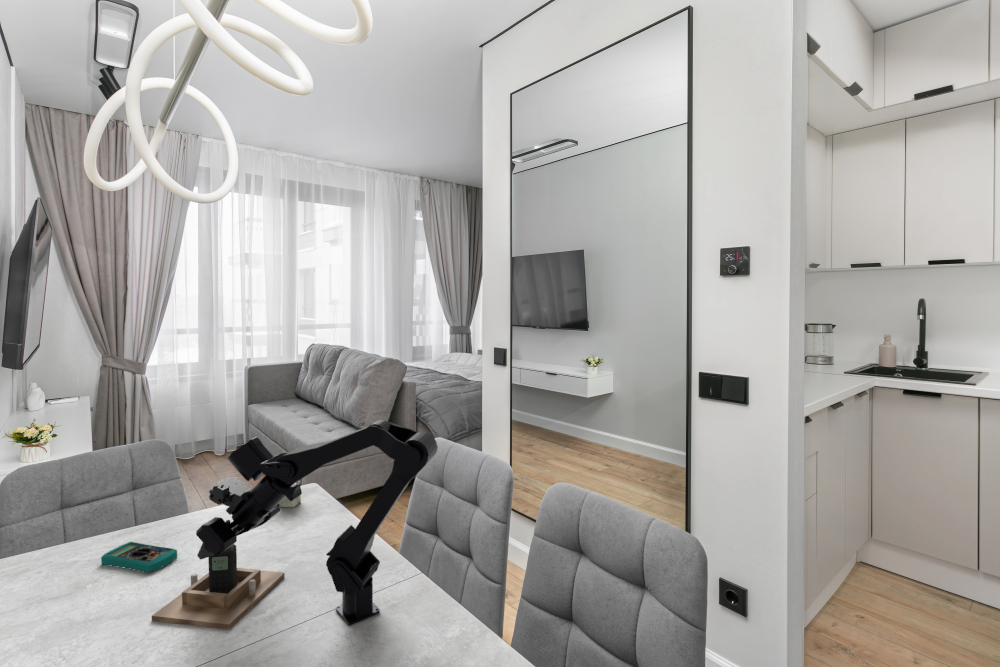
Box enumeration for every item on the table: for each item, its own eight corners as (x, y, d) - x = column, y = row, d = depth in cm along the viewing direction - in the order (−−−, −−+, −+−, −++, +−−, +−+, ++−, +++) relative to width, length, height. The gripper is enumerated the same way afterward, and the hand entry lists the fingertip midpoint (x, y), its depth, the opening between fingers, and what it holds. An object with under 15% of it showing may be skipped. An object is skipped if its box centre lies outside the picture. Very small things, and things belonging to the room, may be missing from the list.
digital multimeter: (151, 575, 110) (151, 563, 110) (99, 566, 114) (99, 554, 114) (180, 559, 117) (179, 547, 117) (130, 551, 121) (130, 539, 121)
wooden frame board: (284, 577, 109) (284, 559, 109) (228, 629, 92) (228, 608, 91) (218, 570, 112) (218, 553, 111) (151, 620, 94) (151, 600, 94)
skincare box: (301, 502, 150) (300, 469, 150) (292, 508, 146) (292, 474, 146) (285, 500, 151) (285, 468, 151) (276, 506, 147) (276, 473, 147)
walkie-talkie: (208, 597, 100) (206, 525, 98) (214, 587, 103) (212, 517, 102) (234, 595, 100) (232, 523, 99) (239, 585, 104) (238, 516, 103)
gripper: (266, 453, 109) (221, 499, 111) (204, 483, 90) (152, 537, 92) (300, 490, 108) (254, 536, 110) (244, 528, 90) (191, 582, 92)
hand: (216, 546), depth 101 cm, fingers open, 9 cm apart
